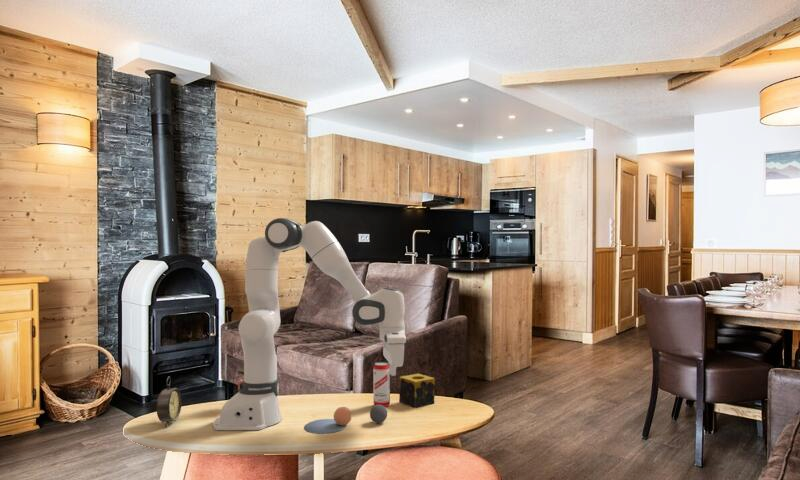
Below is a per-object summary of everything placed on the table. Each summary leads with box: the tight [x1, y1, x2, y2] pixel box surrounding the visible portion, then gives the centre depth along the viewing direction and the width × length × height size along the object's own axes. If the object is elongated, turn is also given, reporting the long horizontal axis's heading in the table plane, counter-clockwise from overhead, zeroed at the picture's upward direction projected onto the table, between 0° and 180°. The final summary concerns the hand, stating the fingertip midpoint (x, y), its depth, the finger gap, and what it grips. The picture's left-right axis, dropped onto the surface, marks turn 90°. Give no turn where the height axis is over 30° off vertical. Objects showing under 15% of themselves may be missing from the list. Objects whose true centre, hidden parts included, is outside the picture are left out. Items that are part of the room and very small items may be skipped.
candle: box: [398, 373, 435, 409], centre depth 192 cm, size 10×10×10 cm
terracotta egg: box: [333, 406, 353, 426], centre depth 167 cm, size 6×6×6 cm
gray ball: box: [369, 405, 388, 424], centre depth 169 cm, size 6×6×6 cm
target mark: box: [304, 418, 347, 435], centre depth 166 cm, size 14×14×1 cm
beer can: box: [372, 361, 391, 408], centre depth 189 cm, size 6×6×16 cm
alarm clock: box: [156, 376, 182, 429], centre depth 170 cm, size 11×5×16 cm, turn 3°
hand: (392, 374), depth 171 cm, fingers closed
